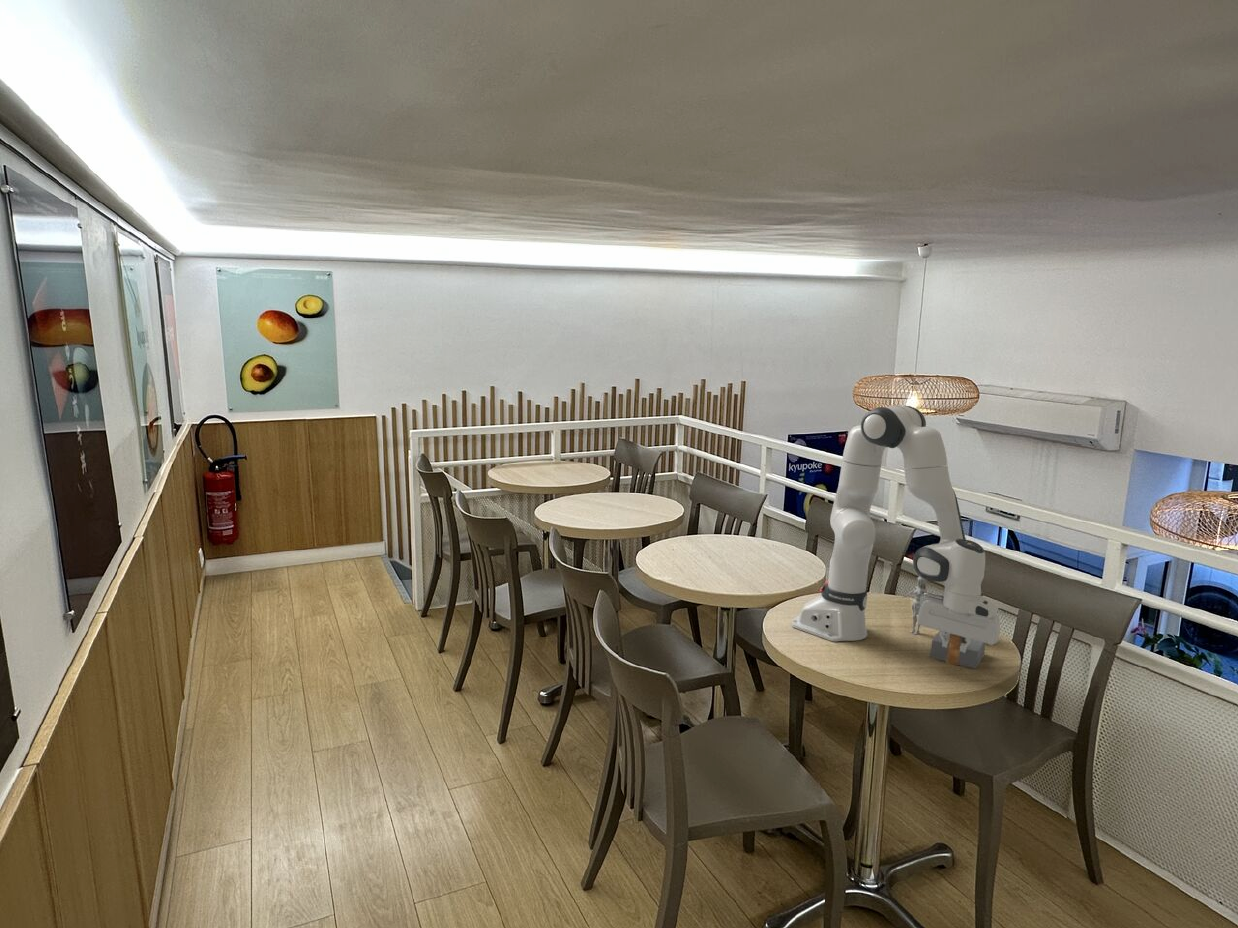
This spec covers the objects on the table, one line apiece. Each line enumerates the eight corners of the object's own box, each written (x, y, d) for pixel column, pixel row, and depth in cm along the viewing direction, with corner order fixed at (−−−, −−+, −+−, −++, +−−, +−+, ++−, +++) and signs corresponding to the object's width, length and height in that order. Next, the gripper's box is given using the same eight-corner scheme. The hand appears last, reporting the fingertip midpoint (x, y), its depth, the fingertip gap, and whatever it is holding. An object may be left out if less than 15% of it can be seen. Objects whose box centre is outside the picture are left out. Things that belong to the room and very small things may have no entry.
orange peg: (944, 663, 205) (949, 632, 203) (947, 660, 208) (952, 629, 206) (956, 667, 203) (960, 635, 202) (959, 663, 206) (963, 632, 204)
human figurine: (896, 626, 238) (901, 571, 235) (904, 624, 240) (910, 569, 237) (928, 640, 228) (934, 583, 224) (936, 638, 229) (942, 581, 226)
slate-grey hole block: (930, 656, 216) (932, 640, 215) (940, 643, 226) (942, 627, 225) (975, 668, 210) (978, 651, 209) (984, 654, 219) (986, 637, 218)
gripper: (917, 593, 206) (911, 641, 208) (999, 614, 194) (991, 664, 196) (924, 587, 211) (917, 634, 213) (1004, 607, 199) (997, 657, 201)
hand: (953, 649), depth 205 cm, fingers closed on orange peg, 3 cm apart
